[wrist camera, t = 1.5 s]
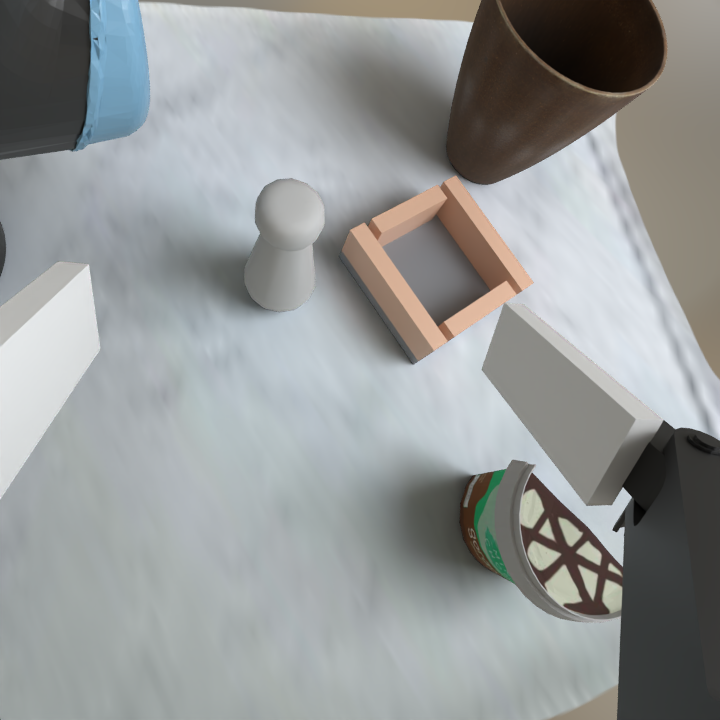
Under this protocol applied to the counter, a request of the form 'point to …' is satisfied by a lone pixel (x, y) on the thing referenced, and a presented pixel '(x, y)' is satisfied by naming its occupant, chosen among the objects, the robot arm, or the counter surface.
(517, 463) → the food container
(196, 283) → the counter surface
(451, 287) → the socket board
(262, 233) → the salt shaker
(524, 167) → the plant pot
